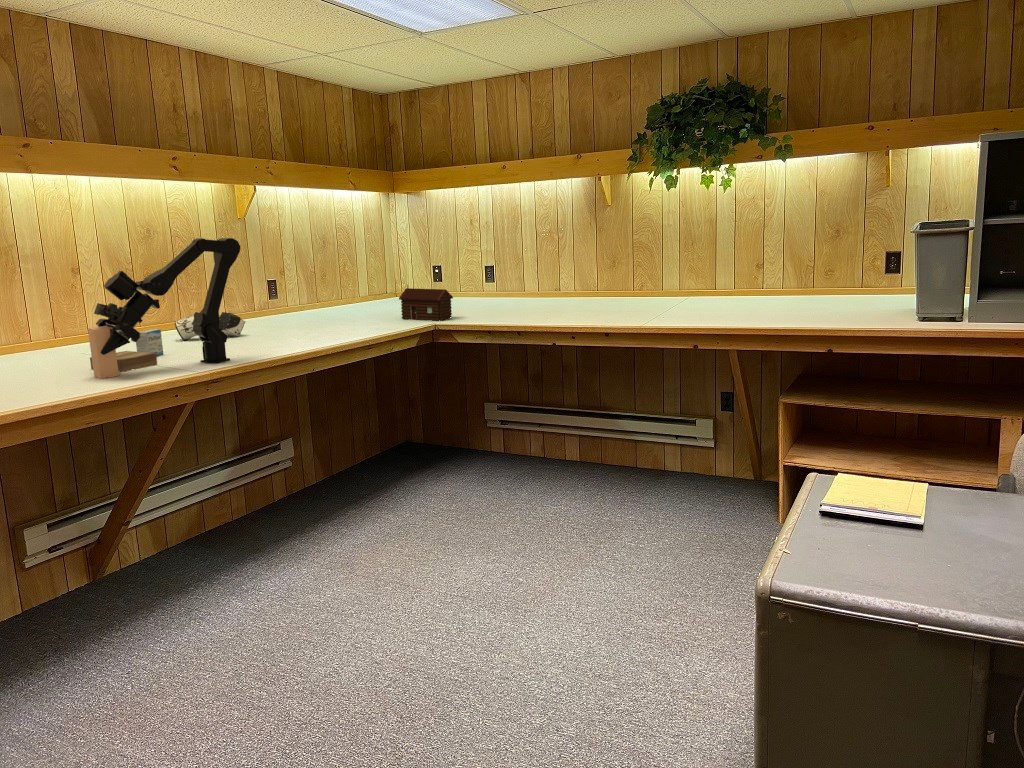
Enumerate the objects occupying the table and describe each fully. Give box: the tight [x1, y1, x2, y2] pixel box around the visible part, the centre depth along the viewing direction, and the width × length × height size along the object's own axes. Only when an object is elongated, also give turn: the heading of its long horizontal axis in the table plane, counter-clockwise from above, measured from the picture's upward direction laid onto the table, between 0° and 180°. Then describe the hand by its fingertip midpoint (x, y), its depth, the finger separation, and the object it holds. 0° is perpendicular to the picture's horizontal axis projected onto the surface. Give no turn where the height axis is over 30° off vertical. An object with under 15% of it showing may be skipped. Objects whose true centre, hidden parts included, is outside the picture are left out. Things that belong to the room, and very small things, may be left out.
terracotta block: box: [87, 326, 120, 379], centre depth 226 cm, size 5×5×14 cm
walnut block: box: [89, 350, 158, 373], centre depth 242 cm, size 13×13×4 cm
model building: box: [398, 284, 454, 322], centre depth 348 cm, size 21×12×15 cm, turn 64°
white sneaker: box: [174, 311, 246, 341], centre depth 299 cm, size 25×10×10 cm, turn 120°
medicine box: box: [135, 328, 164, 357], centre depth 260 cm, size 8×4×9 cm, turn 170°
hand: (98, 352), depth 225 cm, fingers closed on terracotta block, 5 cm apart
